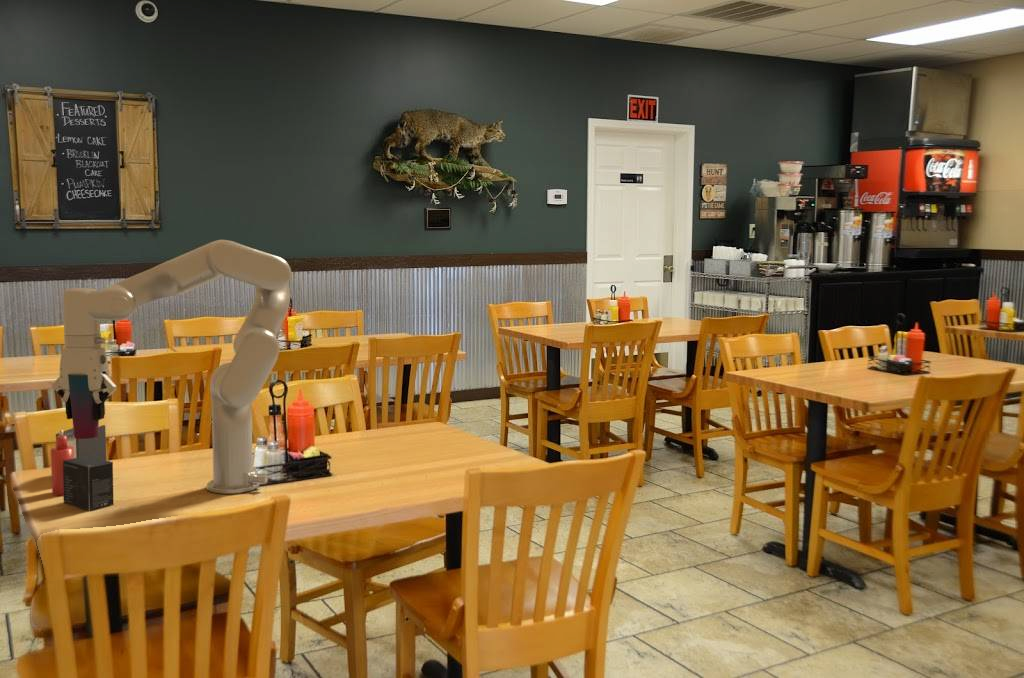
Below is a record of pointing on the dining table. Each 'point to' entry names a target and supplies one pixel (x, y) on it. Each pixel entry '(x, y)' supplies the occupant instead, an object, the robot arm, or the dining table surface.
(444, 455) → the dining table surface
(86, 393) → the cup
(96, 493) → the box
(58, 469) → the ketchup bottle
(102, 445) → the napkin holder
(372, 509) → the dining table surface
